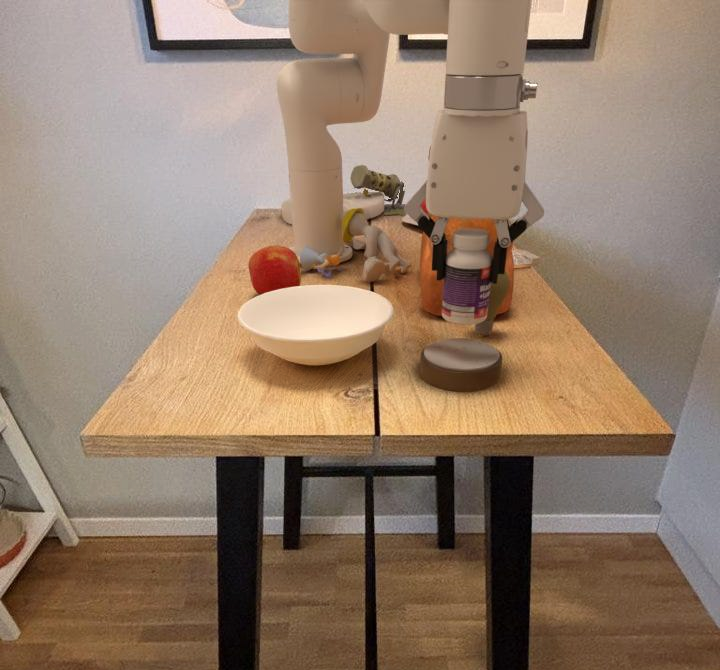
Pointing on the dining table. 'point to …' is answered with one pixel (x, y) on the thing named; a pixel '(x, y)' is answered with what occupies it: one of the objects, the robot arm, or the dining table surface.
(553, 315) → the dining table surface
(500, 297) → the light bulb
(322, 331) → the bowl
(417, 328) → the dining table surface
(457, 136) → the robot arm
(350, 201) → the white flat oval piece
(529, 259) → the stamped metal plate
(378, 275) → the figurine
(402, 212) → the map
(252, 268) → the apple
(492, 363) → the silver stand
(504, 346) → the dining table surface
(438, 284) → the bread
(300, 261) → the fairy figurine
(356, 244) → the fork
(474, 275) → the pill bottle
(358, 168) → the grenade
